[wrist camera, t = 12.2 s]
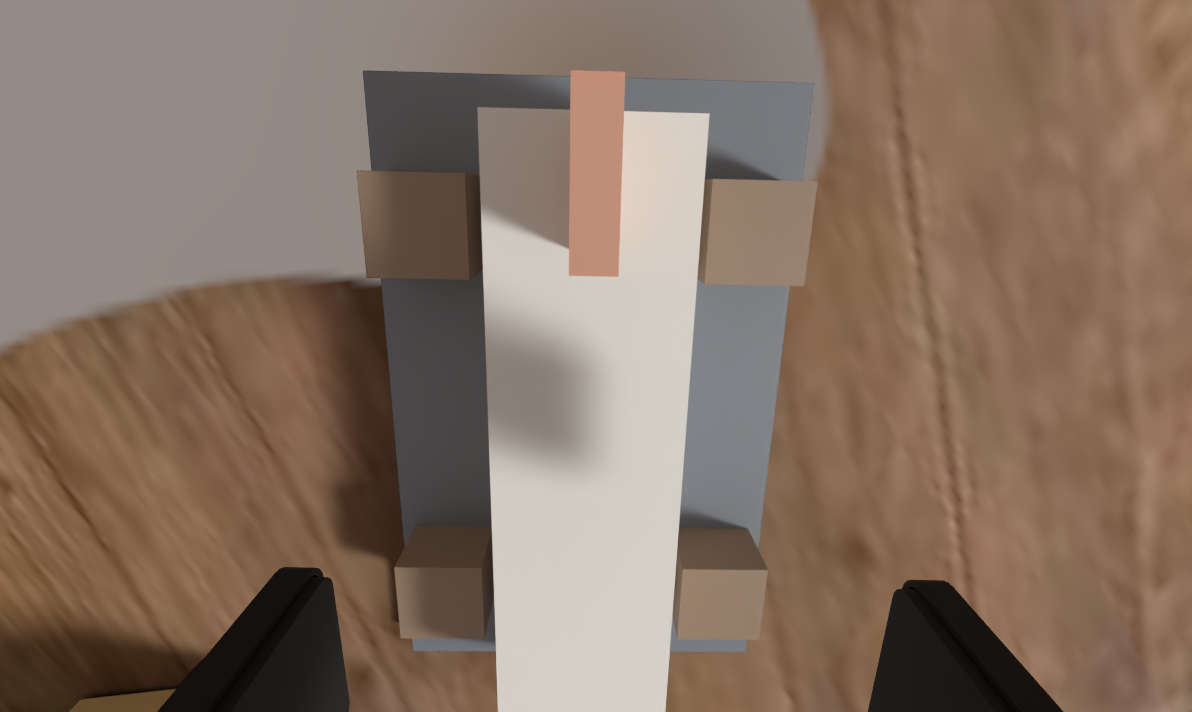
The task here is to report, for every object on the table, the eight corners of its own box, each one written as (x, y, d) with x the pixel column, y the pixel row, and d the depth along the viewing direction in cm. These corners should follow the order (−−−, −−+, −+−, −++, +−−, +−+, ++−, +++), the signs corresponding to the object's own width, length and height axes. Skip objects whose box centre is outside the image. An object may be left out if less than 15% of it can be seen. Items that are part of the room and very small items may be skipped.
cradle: (377, 78, 18) (326, 50, 15) (799, 90, 19) (851, 65, 15) (421, 629, 24) (393, 703, 21) (738, 630, 25) (763, 704, 21)
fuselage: (512, 135, 18) (425, 65, 8) (669, 139, 18) (767, 75, 8) (521, 654, 23) (477, 975, 14) (640, 654, 23) (678, 973, 14)
